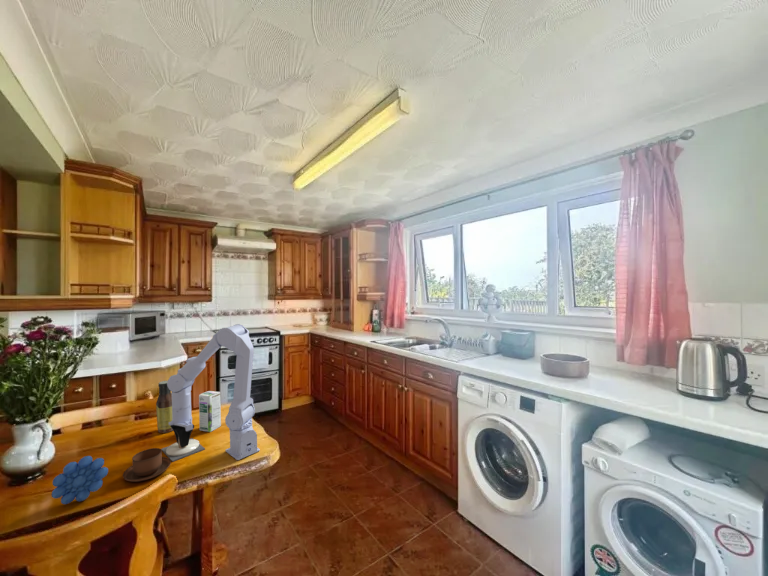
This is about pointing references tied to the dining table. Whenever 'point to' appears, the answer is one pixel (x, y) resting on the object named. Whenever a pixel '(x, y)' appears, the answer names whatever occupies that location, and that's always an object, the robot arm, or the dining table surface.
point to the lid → (182, 448)
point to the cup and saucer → (147, 465)
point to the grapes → (79, 479)
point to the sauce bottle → (164, 408)
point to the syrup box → (209, 411)
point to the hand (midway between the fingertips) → (182, 444)
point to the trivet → (174, 458)
